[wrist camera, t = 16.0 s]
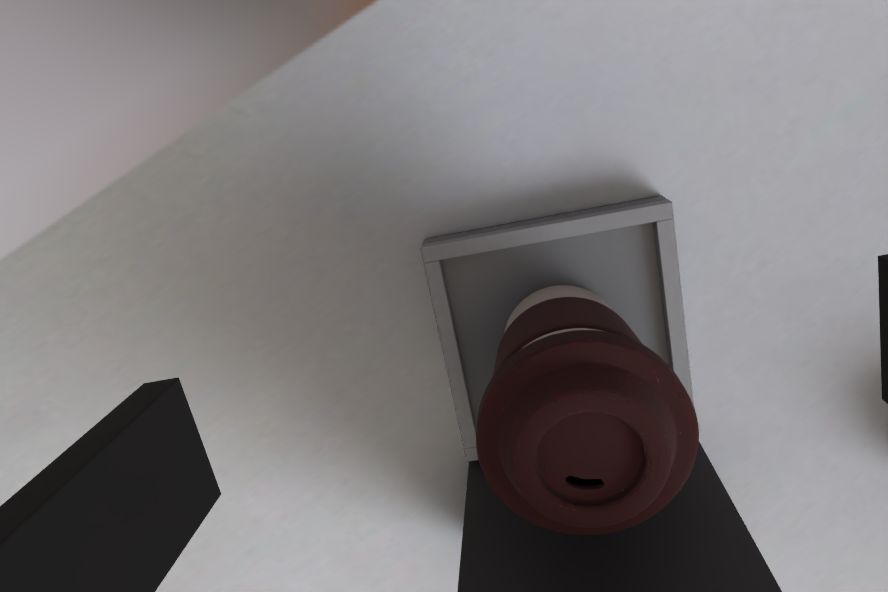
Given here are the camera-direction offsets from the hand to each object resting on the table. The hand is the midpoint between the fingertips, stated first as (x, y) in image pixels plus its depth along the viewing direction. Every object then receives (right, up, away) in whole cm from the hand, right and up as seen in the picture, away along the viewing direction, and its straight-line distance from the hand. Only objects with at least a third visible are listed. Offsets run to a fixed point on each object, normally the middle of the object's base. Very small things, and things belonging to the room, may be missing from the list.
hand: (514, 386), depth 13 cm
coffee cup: (+6, -1, +30) cm, 31 cm away
